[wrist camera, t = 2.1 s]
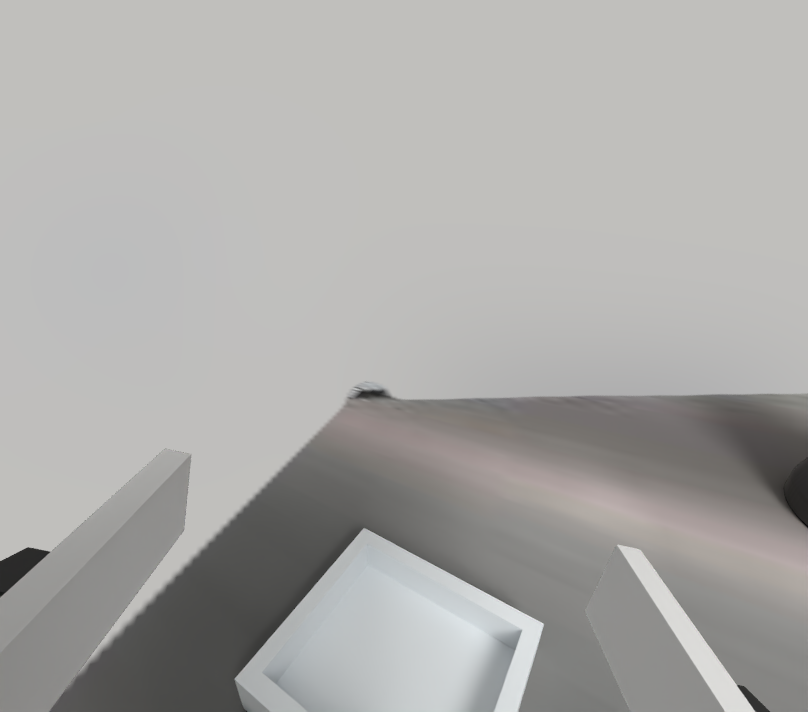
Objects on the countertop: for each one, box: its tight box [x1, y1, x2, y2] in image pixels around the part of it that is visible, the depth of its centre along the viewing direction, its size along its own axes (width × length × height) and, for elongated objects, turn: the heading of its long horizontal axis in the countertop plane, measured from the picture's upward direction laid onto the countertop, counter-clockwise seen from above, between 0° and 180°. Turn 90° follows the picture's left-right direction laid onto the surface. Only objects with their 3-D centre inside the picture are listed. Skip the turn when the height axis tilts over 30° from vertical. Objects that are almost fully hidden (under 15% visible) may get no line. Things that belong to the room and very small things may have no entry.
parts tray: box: [234, 528, 544, 712], centre depth 29 cm, size 16×14×4 cm
